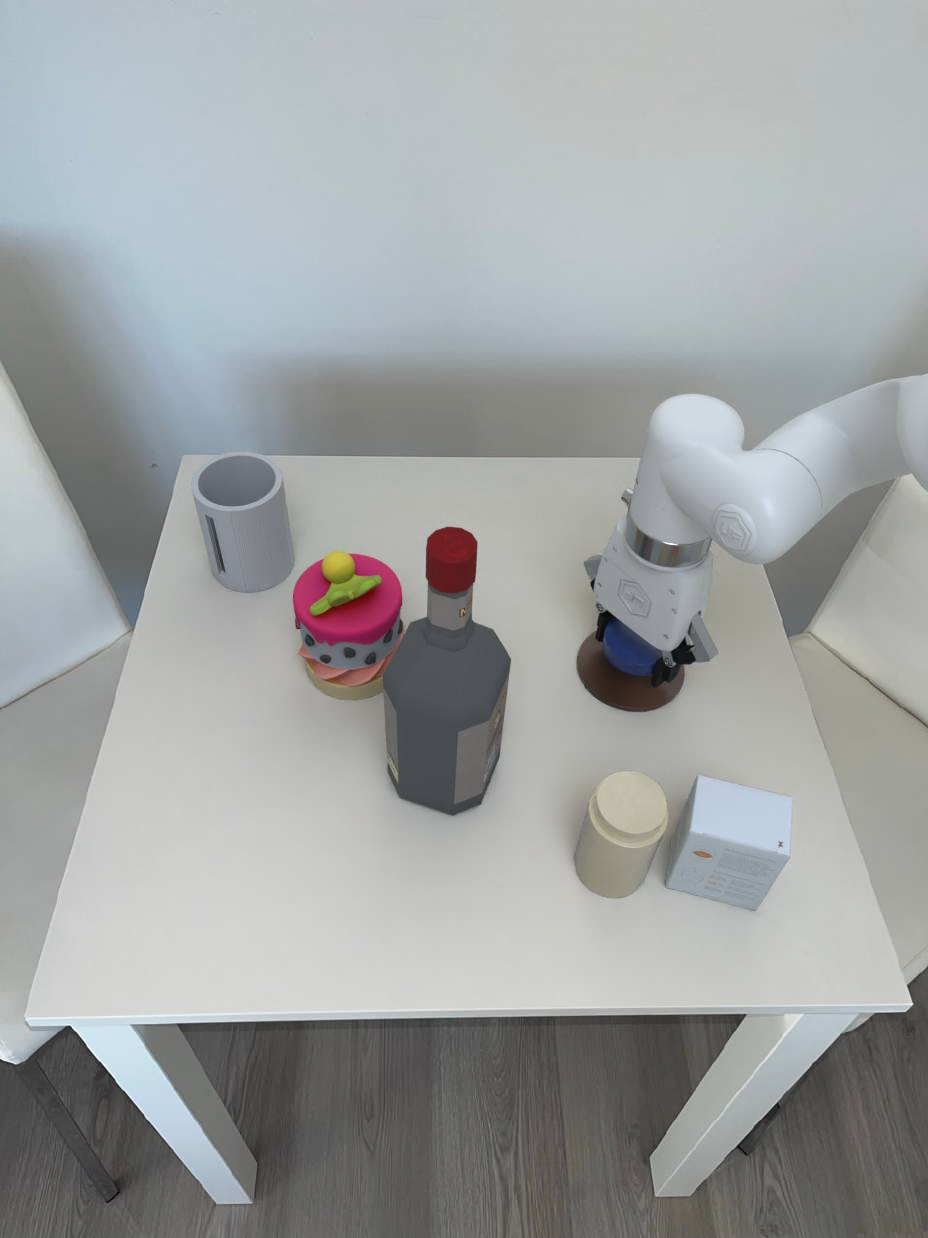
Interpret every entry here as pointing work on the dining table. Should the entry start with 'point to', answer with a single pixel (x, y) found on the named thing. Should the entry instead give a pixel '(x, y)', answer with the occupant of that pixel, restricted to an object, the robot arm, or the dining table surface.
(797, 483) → the robot arm
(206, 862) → the dining table surface
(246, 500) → the cup
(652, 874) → the dining table surface
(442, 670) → the liquor
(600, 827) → the jar
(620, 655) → the lid
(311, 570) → the cake
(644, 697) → the coaster
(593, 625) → the dining table surface
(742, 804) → the small box
